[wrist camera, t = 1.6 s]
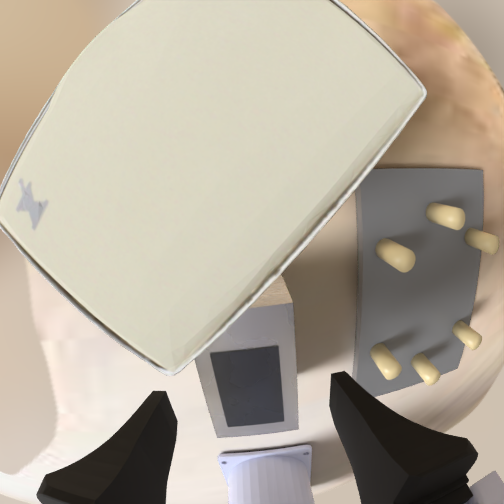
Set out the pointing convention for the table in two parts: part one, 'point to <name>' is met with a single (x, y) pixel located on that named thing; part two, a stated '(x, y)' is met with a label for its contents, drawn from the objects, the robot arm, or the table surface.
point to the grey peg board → (416, 273)
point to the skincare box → (199, 161)
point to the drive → (254, 369)
